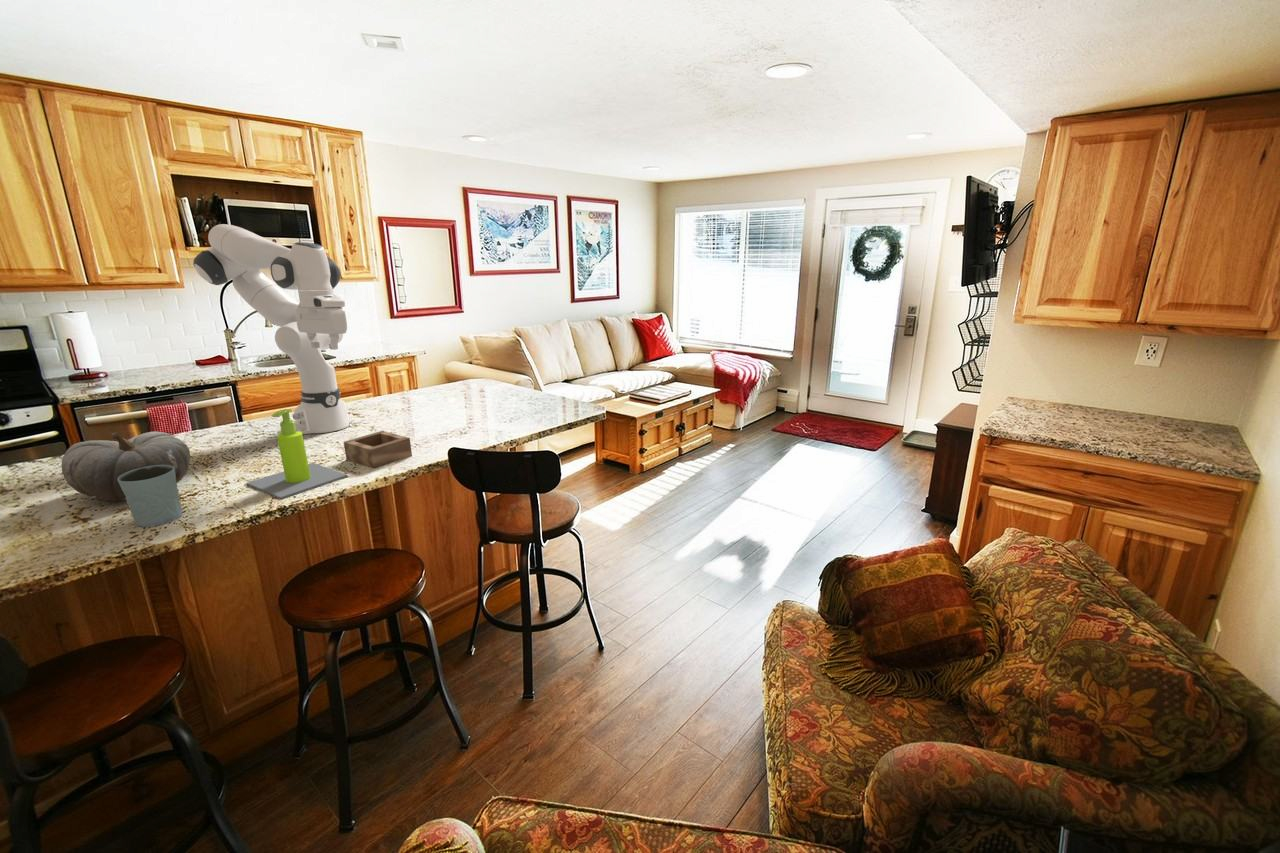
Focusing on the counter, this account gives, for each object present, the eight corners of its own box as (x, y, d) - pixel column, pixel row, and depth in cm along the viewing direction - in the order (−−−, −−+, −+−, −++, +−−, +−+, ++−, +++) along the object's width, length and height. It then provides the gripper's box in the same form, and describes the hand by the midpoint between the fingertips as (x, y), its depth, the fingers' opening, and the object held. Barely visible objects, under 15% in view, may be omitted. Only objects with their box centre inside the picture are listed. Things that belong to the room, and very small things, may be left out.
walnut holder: (346, 460, 169) (343, 441, 167) (384, 448, 180) (382, 430, 178) (374, 469, 162) (371, 449, 160) (412, 456, 173) (409, 437, 171)
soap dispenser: (278, 484, 150) (263, 413, 144) (295, 474, 156) (281, 406, 150) (299, 484, 149) (284, 414, 143) (315, 475, 156) (302, 407, 150)
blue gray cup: (180, 506, 138) (168, 461, 135) (191, 517, 132) (179, 471, 129) (127, 520, 131) (113, 473, 127) (136, 533, 125) (121, 484, 121)
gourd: (39, 493, 139) (37, 427, 136) (153, 473, 162) (153, 416, 159) (103, 518, 132) (102, 448, 129) (212, 494, 155) (214, 434, 152)
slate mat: (246, 484, 151) (246, 482, 151) (313, 464, 166) (312, 462, 165) (280, 499, 142) (280, 497, 142) (347, 476, 156) (347, 474, 156)
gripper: (286, 301, 162) (294, 348, 165) (326, 301, 152) (333, 351, 155) (308, 300, 167) (315, 346, 171) (348, 300, 157) (355, 349, 160)
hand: (324, 348), depth 163 cm, fingers open, 8 cm apart
